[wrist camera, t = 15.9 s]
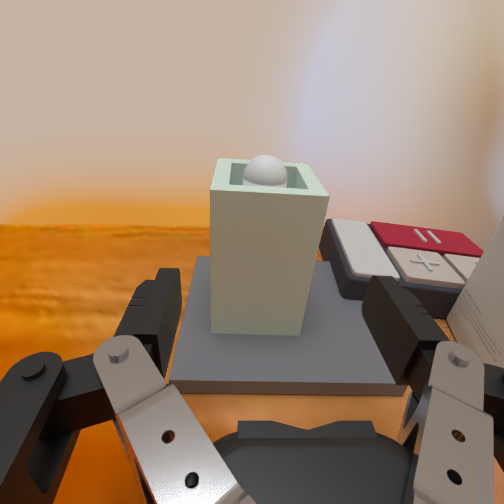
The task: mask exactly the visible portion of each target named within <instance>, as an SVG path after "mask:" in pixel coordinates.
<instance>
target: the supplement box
mask: <svg viewBox="0 0 504 504" xmlns="http://www.w3.org/2000/svg"><path fill="white" fill-rule="evenodd" d="M446 320H447V322H448V325H449V327H450V329H451V331H452V333H453V335H454V337H455V339H456V341H457V343H459V344H462V345H464V346H466V347H467V348H469V349H471V350H472V351H473V352H474V353H476V354H477V355H478V356H479V357H480V359H481V360H482V362H483V363H486V364H490V365H494V366H498V367H502V368H504V217H503V219H502V221H501V222H500V224H499V226H498V228H497V230H496V231H495V233H494V235H493V236H492V238H491V240H490V242H489V243H488V245H487V247H486V249H485V250H484V252H483V254H482V256H481V258H480V259H479V261H478V263H477V265H476V266H475V268H474V270H473V272H472V274H471V275H470V277H469V279H468V281H467V282H466V284H465V286H464V288H463V290H462V291H461V293H460V295H459V297H458V298H457V300H456V302H455V304H454V305H453V307H452V309H451V311H450V313H449V314H448V316H447V318H446Z"/></svg>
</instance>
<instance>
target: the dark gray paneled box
mask: <svg viewBox="0 0 504 504" xmlns="http://www.w3.org/2000/svg"><path fill="white" fill-rule="evenodd" d="M319 248H320V251H321V255H322V259H323V261H330V264H331V268H332V271H333V274H334V277H335V280H336V283H337V286H338V290H339V293H340V295H341V297H342V298H344V299H348V300H359V301H363V299H364V296H365V293H366V290H367V287H368V284H369V281H370V279H371V277H372V276H373V275H380V276H393V277H394V278H395V279H396V281H397V282H398V284H399V285H400V286H401V288H405V289H406V290H408V291H409V292H411V293H412V294H413V295H415V296H416V297H417V299H418V300H419V301H420V303H421V304H422V305H423V307H424V308H425V309H426V310H427V312H428V313H429V315H430V316H431V317H432V318H436V319H446V318H447V316H448V314H449V313H450V311H451V309H452V307H453V305H454V304H455V302H456V300H457V298H458V297H459V295H460V293H461V291H462V290H463V288H464V286H465V284H466V282H467V281H468V279H469V277H470V275H471V274H472V272H473V270H474V268H475V266H476V265H477V263H478V261H479V259H480V258H481V256H482V254H483V252H484V251H483V250H481V249H480V248H479V247H478V246H477V245H476V244H474V243H473V242H472V241H471V240H470V239H468V238H467V237H466V236H465V235H464V234H462V233H458V232H451V231H443V230H436V229H427V228H420V227H412V226H405V225H397V224H390V223H382V222H373V221H372V222H371V224H366V223H365V222H361V221H353V220H345V219H338V218H332V219H327V220H326V223H325V226H324V230H323V233H322V237H321V241H320V244H319Z"/></svg>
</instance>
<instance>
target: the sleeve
mask: <svg viewBox="0 0 504 504" xmlns="http://www.w3.org/2000/svg"><path fill="white" fill-rule="evenodd" d="M250 161H251V160H239V159H238V160H237V159H223V158H218V162H217V165H216V169H215V173H214V177H213V181H212V184H211V188H210V282H211V333H216V334H251V335H286V336H300V332H301V327H302V323H303V318H304V313H305V309H306V304H307V299H308V295H309V290H310V285H311V281H312V276H313V271H314V267H315V262H316V257H317V253H318V248H319V243H320V239H321V234H322V229H323V225H324V220H325V215H326V210H327V206H328V201H329V195H328V193H327V192H326V190H325V189H324V187H323V186H322V185H321V183H320V181H319V180H318V178H317V177H316V175H315V174H314V172H313V171H312V169H311V168H310V166H309V165H308V164H304V163H286V162H282V163H283V165H284V166H285V168H286V171H287V186H286V188H280V187H262V186H245V185H243V173H244V170H245V167H246V166H247V164H248V163H249V162H250Z"/></svg>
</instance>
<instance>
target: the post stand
mask: <svg viewBox="0 0 504 504" xmlns="http://www.w3.org/2000/svg"><path fill="white" fill-rule="evenodd" d="M243 185H245V186H262V187H280V188H286V186H287V171H286V168H285V166H284V165H283V163H282V162H281V161H280V160H279V159H277V158H276V157H274V156H271V155H260V156H257V157H255V158H254V159H252V160H251V161H250V162H249V163H248V164H247V166H246V167H245V170H244V173H243ZM362 302H363V301H359V300H348V299H344V298H342V297H341V295H340V293H339V290H338V286H337V283H336V280H335V277H334V274H333V271H332V268H331V264H330V261H316V262H315V267H314V271H313V276H312V281H311V285H310V290H309V295H308V299H307V304H306V309H305V313H304V318H303V323H302V327H301V332H300V336H286V335H251V334H216V333H211V282H210V257H208V256H197V260H196V265H195V269H194V273H193V278H192V282H191V286H190V291H189V295H188V299H187V304H186V308H185V312H184V316H183V321H182V325H181V329H180V334H179V338H178V342H177V347H176V351H175V355H174V360H173V364H172V368H171V373H170V377H169V383H172V384H173V385H174V386H175V387H176V388H177V390H178V391H179V393H214V394H292V395H370V396H403V394H404V392H405V390H406V388H407V386H408V385H396V383H395V381H394V379H393V377H392V375H391V373H390V371H389V369H388V367H387V365H386V363H385V361H384V359H383V357H382V355H381V353H380V351H379V349H378V347H377V345H376V343H375V341H374V339H373V337H372V335H371V333H370V331H369V329H368V327H367V325H366V323H365V321H364V318H363V316H362Z"/></svg>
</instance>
